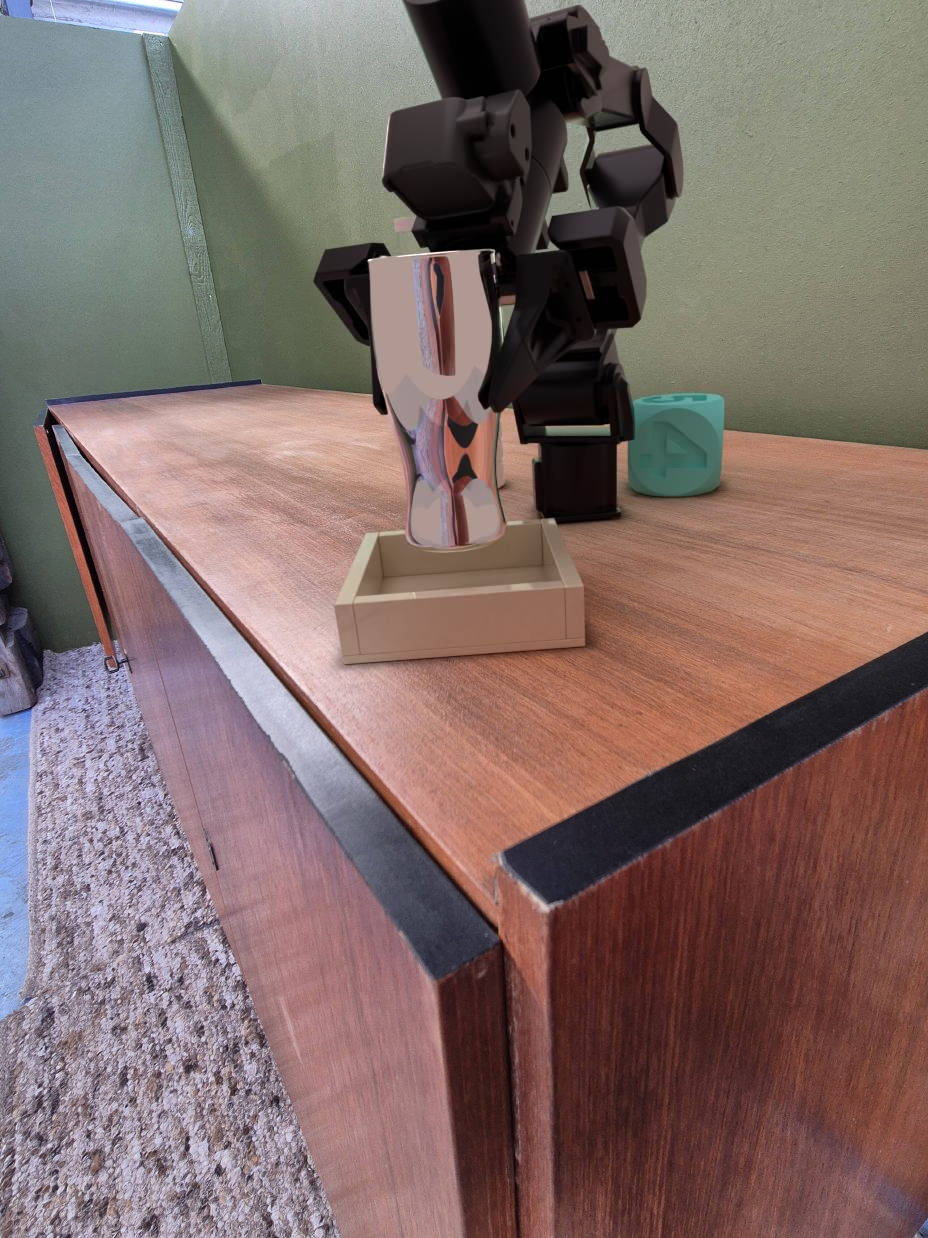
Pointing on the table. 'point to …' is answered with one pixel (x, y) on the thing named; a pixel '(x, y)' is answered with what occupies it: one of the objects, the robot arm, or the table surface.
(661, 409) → the decorative dice
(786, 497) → the table surface
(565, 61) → the robot arm
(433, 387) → the silver metal tumbler
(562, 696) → the table surface
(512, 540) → the tray
